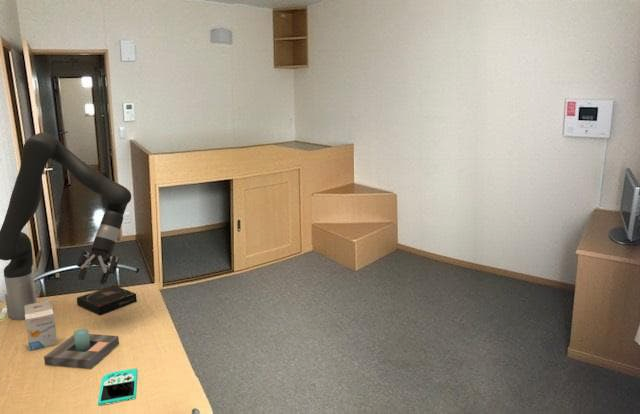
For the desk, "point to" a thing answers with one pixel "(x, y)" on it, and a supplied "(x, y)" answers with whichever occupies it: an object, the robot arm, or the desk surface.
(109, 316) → the desk surface
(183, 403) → the desk surface
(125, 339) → the desk surface
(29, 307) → the ink box
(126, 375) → the handheld game console
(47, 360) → the holder
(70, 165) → the robot arm
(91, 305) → the portable cd player
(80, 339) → the peg
